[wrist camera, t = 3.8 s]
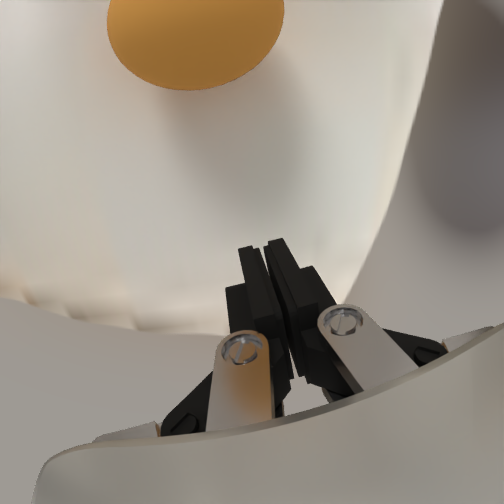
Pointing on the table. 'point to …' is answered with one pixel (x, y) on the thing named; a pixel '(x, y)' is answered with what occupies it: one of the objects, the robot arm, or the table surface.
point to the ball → (193, 39)
